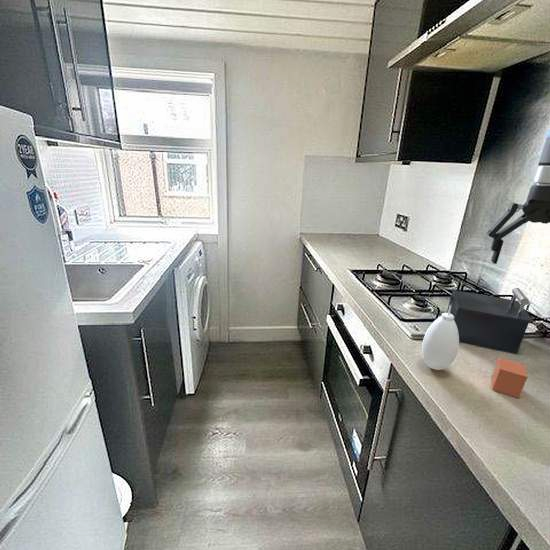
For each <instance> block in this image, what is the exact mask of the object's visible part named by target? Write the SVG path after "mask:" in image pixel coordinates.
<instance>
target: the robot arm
mask: <svg viewBox="0 0 550 550" xmlns="http://www.w3.org/2000/svg"><path fill="white" fill-rule="evenodd" d="M542 147H543V148H542V151H541V154H540V158H539V161H538V164H537V167H536V169H535V174H534V176H533V179H532V183H534V184H532V185H531V186H530V188H529V191H528V194H527V198H526V201H525V202H524V204H521V203H516V202H514V201H513V202H510V204H509V206H508V207H507V210H506V211H505V212H504V213H503V214H502V216H500V218H499V219H498V220H497V221H496V222H495V223H493V225H492V226H491V227H490V228H489V229H488V231H487V232H486V235H487V236H488V237H489V238H492V242H491V245H490V250H491V251H492V252H493V253H492V256H491V263H492V264H494V265H495V264H496V265H497V264H498V261H499V259H500V258H499V257H500V255H501V251H502V247H503V245H504V242H505V241H504V240H503V238H505V237H506V236H508V235H509V234H510V233H513V232H514V231H515V230H516V229H518V228H520V227H521V226H523V225H525V224H527V223H528V222H530V223H534V224H537V223H541V224H546V225H548V224H550V129H549V130H548V132H547V135H546V137H545V141H544V145H543V146H542ZM520 210H521V211H522V213H523V214H522V215H519V217H517V218H516V219H515V220H513V221H512V222H510V223H509V224H507V225H506V223H507V222H509V220H510V219H511V218H512V217H514V215H515V213H518V212H519V211H520ZM505 225H506V226H505ZM504 226H505V227H504Z"/></svg>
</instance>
